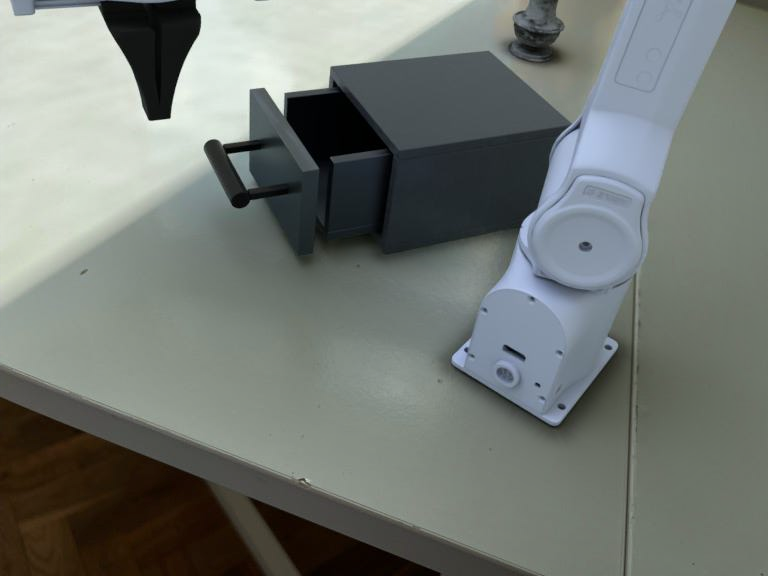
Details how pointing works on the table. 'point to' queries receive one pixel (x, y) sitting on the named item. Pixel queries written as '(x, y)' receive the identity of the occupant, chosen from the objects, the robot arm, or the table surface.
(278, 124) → the drawer
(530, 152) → the cabinet
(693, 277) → the table surface
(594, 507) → the table surface
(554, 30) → the ornate metal candlestick
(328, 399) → the table surface
